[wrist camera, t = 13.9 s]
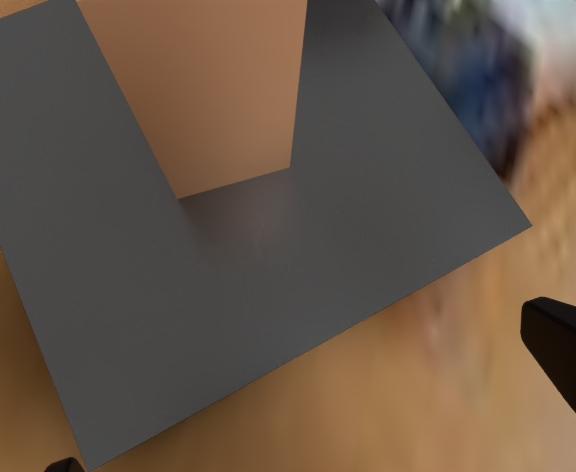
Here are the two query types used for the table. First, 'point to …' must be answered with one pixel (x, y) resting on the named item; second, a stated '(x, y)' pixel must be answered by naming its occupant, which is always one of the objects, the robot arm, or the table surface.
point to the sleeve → (206, 82)
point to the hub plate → (223, 220)
